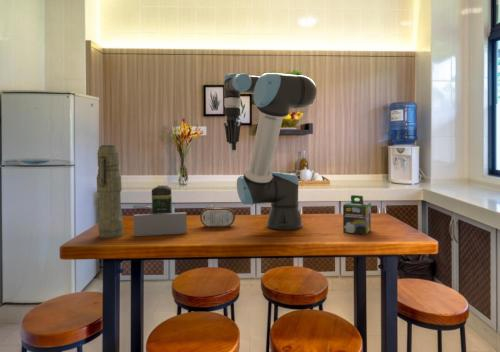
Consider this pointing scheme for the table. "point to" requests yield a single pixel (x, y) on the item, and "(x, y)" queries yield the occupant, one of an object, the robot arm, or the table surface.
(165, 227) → the board
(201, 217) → the tin
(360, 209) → the chalk box
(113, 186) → the carved stone statue
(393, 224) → the table surface
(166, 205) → the coffee jar
